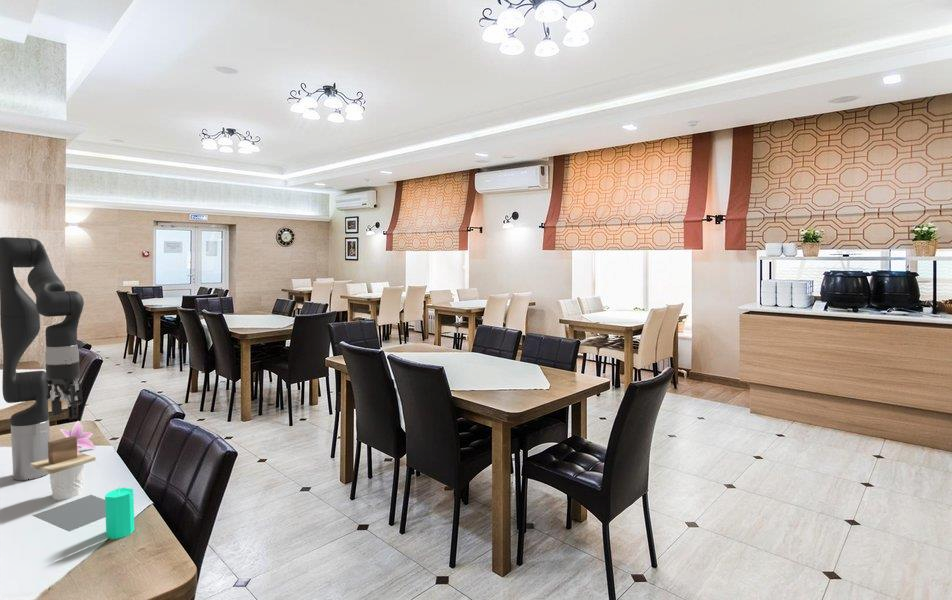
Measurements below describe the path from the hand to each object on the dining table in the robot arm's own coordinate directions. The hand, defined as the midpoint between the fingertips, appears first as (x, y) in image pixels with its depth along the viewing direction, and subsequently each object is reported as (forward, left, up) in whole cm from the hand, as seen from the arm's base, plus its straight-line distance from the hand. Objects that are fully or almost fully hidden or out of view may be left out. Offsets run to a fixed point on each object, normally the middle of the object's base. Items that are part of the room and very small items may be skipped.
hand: (64, 416), depth 148 cm
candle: (+35, -5, -24) cm, 43 cm away
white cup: (0, 0, -24) cm, 24 cm away
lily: (-38, +21, -24) cm, 50 cm away
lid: (0, -1, -14) cm, 14 cm away
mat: (+15, -4, -24) cm, 28 cm away
